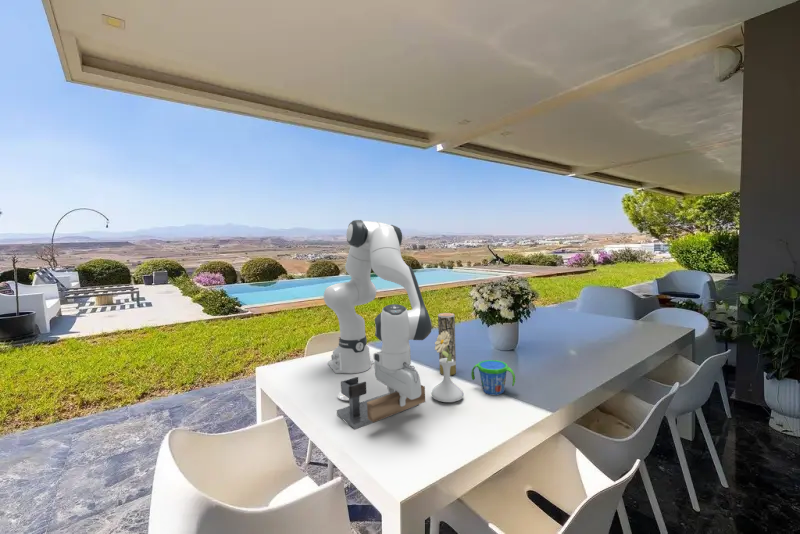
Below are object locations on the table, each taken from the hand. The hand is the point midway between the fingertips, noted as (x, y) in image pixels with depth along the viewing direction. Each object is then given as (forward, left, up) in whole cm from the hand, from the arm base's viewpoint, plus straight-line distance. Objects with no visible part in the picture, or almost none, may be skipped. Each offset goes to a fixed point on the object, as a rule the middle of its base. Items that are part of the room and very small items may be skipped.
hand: (397, 402), depth 111 cm
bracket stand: (-12, 0, -7) cm, 13 cm away
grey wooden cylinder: (-21, +40, -7) cm, 46 cm away
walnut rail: (0, 0, -2) cm, 2 cm away
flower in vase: (-3, +23, -7) cm, 24 cm away
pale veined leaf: (-27, -3, -7) cm, 28 cm away
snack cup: (+3, +40, -7) cm, 41 cm away
